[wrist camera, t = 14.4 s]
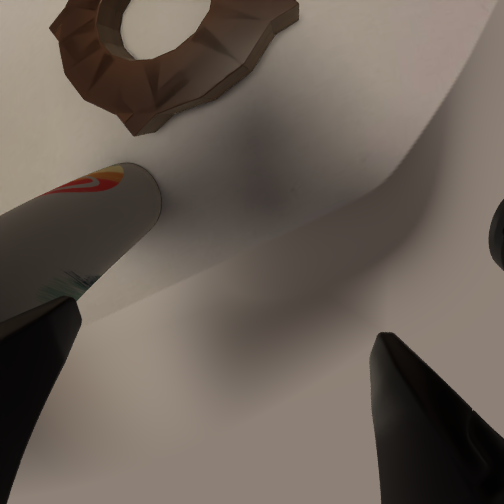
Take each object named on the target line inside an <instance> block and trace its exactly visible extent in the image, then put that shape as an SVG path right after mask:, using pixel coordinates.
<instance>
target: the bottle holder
mask: <svg viewBox="0 0 504 504" xmlns="http://www.w3.org/2000/svg"><path fill="white" fill-rule="evenodd" d="M129 1H130V0H68V2H67V4H66V7H65V8H64V9H63V11H62V12H61V13H60V14H59V16H58V17H57V18H56V19H55V21H54V22H53V23H52V25H51V26H50V27H49V29H50V30H51V32H52V33H53V34H54V36H55V37H56V38H57V40H58V41H59V48H60V53H61V59H62V64H63V68H64V73H65V75H66V77H67V78H68V79H69V81H70V82H71V83H72V85H73V86H74V87H75V89H76V90H77V91H78V93H79V94H80V95H81V97H82V98H83V99H84V100H85V101H87V102H90V103H92V104H94V105H96V106H98V107H100V108H102V109H104V110H107V111H109V112H111V113H113V114H116V115H117V116H118V117H119V119H120V120H121V121H122V122H123V124H124V125H125V126H126V128H127V129H128V130H129V131H130V133H131V134H132V135H133V136H134V137H135V136H139V135H144V134H149V133H154V132H156V131H157V130H158V129H159V128H160V127H161V126H162V125H163V124H164V123H165V122H166V121H167V120H168V119H170V118H171V117H172V116H173V115H174V114H175V113H178V112H181V111H184V110H187V109H189V108H192V107H195V106H198V105H201V104H204V103H207V102H210V101H213V100H215V99H217V98H218V97H220V96H221V95H222V94H223V93H225V92H226V91H227V90H228V89H230V88H231V87H232V86H233V85H235V84H236V83H237V82H239V81H240V80H241V79H243V78H244V77H245V76H247V75H248V74H249V73H250V72H252V70H253V69H254V67H255V66H256V64H257V62H258V61H259V59H260V58H261V56H262V54H263V53H264V51H265V50H266V48H267V46H268V45H269V43H270V42H271V40H272V39H273V37H274V35H275V34H277V33H278V32H280V31H281V30H283V29H285V28H286V27H288V26H289V25H291V24H292V23H294V22H296V21H297V20H299V3H298V2H297V1H296V0H211V4H210V10H209V12H208V13H207V15H206V16H205V18H204V19H203V21H202V22H201V24H200V26H199V27H198V29H197V31H196V32H195V33H194V34H193V35H192V36H190V37H189V38H188V39H187V40H186V41H184V42H183V43H182V44H181V45H180V46H179V47H177V48H176V49H175V50H172V51H170V52H167V53H165V54H163V55H161V56H158V57H156V58H154V59H148V60H135V59H134V58H133V57H132V56H131V55H130V54H129V53H128V52H127V51H126V49H125V48H124V47H123V43H122V39H121V35H120V31H119V30H120V24H121V19H122V14H123V12H124V10H125V8H126V6H127V5H128V3H129Z"/></svg>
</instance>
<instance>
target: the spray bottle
mask: <svg viewBox="0 0 504 504" xmlns="http://www.w3.org/2000/svg"><path fill="white" fill-rule="evenodd" d="M160 210H161V196H160V192H159V189H158V186H157V184H156V182H155V181H154V179H153V178H152V176H151V175H150V174H149V173H148V172H147V171H146V170H144V169H143V168H141V167H139V166H137V165H134V164H130V163H120V164H115V165H112V166H109V167H106V168H103V169H101V170H98V171H96V172H93V173H91V174H88V175H86V176H83V177H81V178H78V179H76V180H74V181H71V182H69V183H67V184H64V185H62V186H60V187H58V188H55V189H53V190H51V191H49V192H47V193H44V194H42V195H40V196H38V197H36V198H34V199H32V200H30V201H28V202H26V203H24V204H22V205H20V206H18V207H16V208H14V209H12V210H10V211H8V212H6V213H4V214H3V215H1V216H0V322H2V321H5V320H7V319H9V318H12V317H14V316H16V315H18V314H21V313H23V312H25V311H28V310H30V309H32V308H35V307H37V306H39V305H42V304H44V303H46V302H49V301H51V300H53V299H56V298H58V297H60V296H64V295H65V296H70V297H73V298H74V299H75V300H76V301H77V300H78V299H79V298H80V297H81V296H82V295H83V294H84V293H85V292H86V291H87V290H88V289H89V288H90V287H91V286H92V285H93V284H94V283H95V282H96V281H97V280H98V279H99V278H100V277H101V276H102V275H103V274H104V273H105V272H106V271H107V270H108V269H109V268H110V267H111V266H112V265H113V264H114V263H115V262H117V261H118V260H119V259H120V258H121V257H122V256H123V255H124V254H125V253H126V252H127V251H128V250H129V249H130V248H131V247H133V246H134V245H135V244H136V243H137V242H138V241H139V240H140V239H141V238H142V237H143V236H144V235H145V234H147V233H148V232H149V231H150V230H151V228H152V227H153V226H154V225H155V223H156V221H157V219H158V217H159V214H160Z"/></svg>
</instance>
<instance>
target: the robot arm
mask: <svg viewBox="0 0 504 504" xmlns="http://www.w3.org/2000/svg"><path fill="white" fill-rule="evenodd" d="M502 235H503V239H504V228H503V230H502ZM81 323H82V318H81V315H80V312H79V309H78V306H77V303H76V300H75V299H74V298H73V297H70V296H65V295H64V296H60V297H58V298H56V299H53V300H51V301H49V302H46V303H44V304H42V305H39V306H37V307H35V308H32V309H30V310H28V311H25V312H23V313H21V314H18V315H16V316H14V317H12V318H9V319H7V320H5V321H2V322H0V504H7V501H8V498H9V495H10V491H11V488H12V485H13V482H14V479H15V476H16V474H17V471H18V468H19V465H20V462H21V459H22V456H23V454H24V451H25V449H26V446H27V444H28V441H29V439H30V437H31V434H32V432H33V429H34V427H35V425H36V422H37V420H38V418H39V415H40V413H41V411H42V409H43V407H44V405H45V402H46V400H47V398H48V396H49V394H50V392H51V390H52V388H53V386H54V384H55V381H56V380H57V378H58V376H59V374H60V371H61V370H62V368H63V366H64V364H65V362H66V359H67V357H68V355H69V352H70V350H71V347H72V345H73V343H74V340H75V338H76V336H77V333H78V331H79V329H80V327H81ZM370 381H371V405H372V406H371V407H372V416H373V424H374V431H375V438H376V447H377V457H378V467H379V478H380V489H381V504H504V438H503V437H501V436H500V435H499V434H498V433H497V432H496V431H494V429H492V427H490V426H489V425H488V424H487V423H486V422H485V421H484V420H483V419H482V418H481V417H480V416H479V415H478V414H477V413H476V412H475V411H474V410H473V411H472V408H471V407H470V406H469V405H468V404H467V403H466V402H465V401H464V400H463V399H462V398H461V397H460V396H459V395H458V394H457V393H456V392H455V391H454V390H453V389H452V388H451V387H450V386H449V385H448V384H447V383H446V382H445V381H444V380H443V379H442V378H441V377H440V376H439V375H438V374H437V373H436V372H435V371H433V370H432V369H431V368H430V367H429V366H428V365H427V364H426V363H425V362H424V361H423V360H422V359H421V358H420V357H419V356H418V355H417V354H416V353H415V352H413V351H412V350H411V349H410V348H409V347H408V346H407V345H406V344H405V343H404V342H403V341H402V340H401V339H400V338H399V337H397V336H396V335H395V334H394V333H392V332H381V333H379V334H378V335H377V338H376V340H375V343H374V346H373V349H372V352H371V355H370Z"/></svg>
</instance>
